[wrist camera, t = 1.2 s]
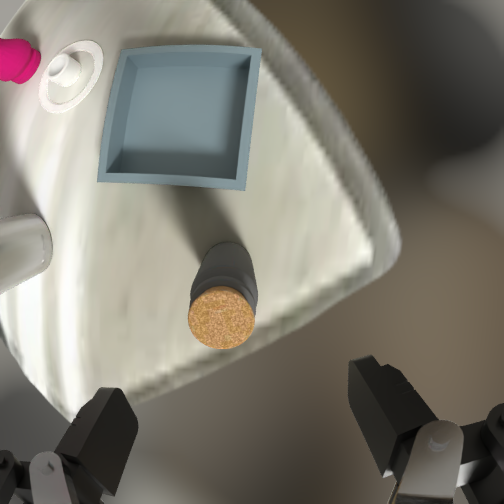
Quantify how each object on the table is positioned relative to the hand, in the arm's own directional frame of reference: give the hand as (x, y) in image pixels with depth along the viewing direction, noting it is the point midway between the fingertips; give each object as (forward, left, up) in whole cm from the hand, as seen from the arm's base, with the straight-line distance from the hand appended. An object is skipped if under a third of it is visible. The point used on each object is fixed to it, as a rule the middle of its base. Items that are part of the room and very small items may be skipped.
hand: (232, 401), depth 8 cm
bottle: (-1, -2, -26) cm, 26 cm away
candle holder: (-27, +23, -26) cm, 44 cm away
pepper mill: (-38, +27, -26) cm, 53 cm away
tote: (-8, +15, -26) cm, 30 cm away
